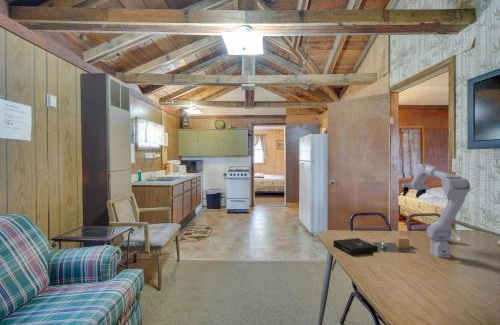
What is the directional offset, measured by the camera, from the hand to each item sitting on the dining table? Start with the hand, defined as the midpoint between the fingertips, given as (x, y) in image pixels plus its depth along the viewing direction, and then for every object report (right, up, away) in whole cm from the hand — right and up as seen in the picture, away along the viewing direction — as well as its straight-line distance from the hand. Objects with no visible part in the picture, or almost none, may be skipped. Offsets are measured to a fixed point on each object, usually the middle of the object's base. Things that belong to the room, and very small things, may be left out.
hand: (410, 195), depth 179 cm
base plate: (-19, -28, -16) cm, 37 cm away
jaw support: (+20, -28, -2) cm, 35 cm away
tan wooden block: (-12, -27, -14) cm, 33 cm away
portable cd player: (-40, -29, -17) cm, 52 cm away
